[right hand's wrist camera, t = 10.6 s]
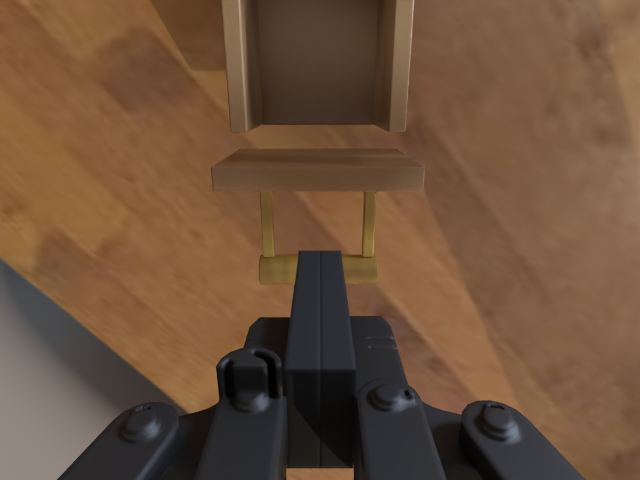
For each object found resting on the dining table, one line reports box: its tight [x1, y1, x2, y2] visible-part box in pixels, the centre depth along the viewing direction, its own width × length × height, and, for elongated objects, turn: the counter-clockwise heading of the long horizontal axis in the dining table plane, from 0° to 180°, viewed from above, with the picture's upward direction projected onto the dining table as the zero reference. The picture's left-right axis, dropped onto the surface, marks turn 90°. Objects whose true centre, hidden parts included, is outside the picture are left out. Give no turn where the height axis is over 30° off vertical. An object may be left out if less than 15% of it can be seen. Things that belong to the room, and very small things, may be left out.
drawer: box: [211, 0, 425, 284], centre depth 21 cm, size 26×10×8 cm, turn 0°
